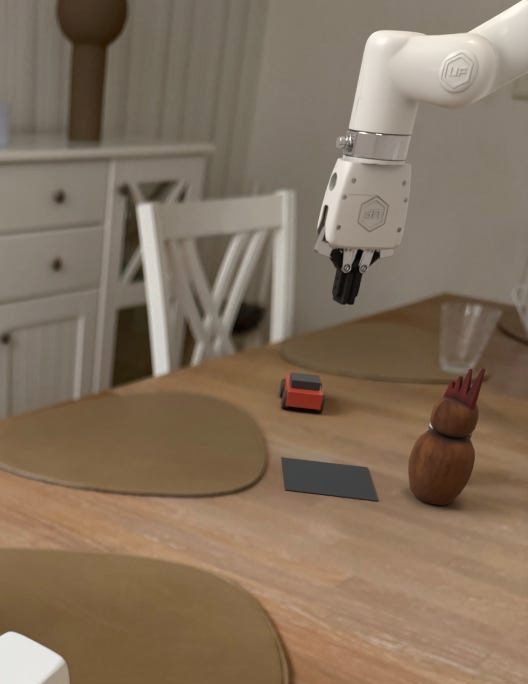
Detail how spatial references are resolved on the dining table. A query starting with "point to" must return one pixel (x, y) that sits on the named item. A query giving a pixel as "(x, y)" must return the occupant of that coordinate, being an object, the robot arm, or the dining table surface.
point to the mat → (328, 479)
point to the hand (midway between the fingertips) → (342, 302)
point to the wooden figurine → (446, 444)
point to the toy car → (302, 392)
